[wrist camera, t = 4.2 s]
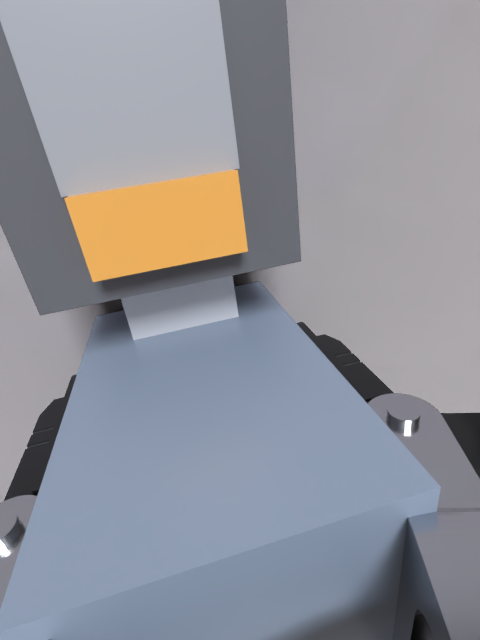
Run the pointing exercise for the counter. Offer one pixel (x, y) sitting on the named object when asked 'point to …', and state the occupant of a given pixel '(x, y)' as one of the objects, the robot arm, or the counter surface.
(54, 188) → the strip
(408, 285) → the counter surface
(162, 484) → the block
